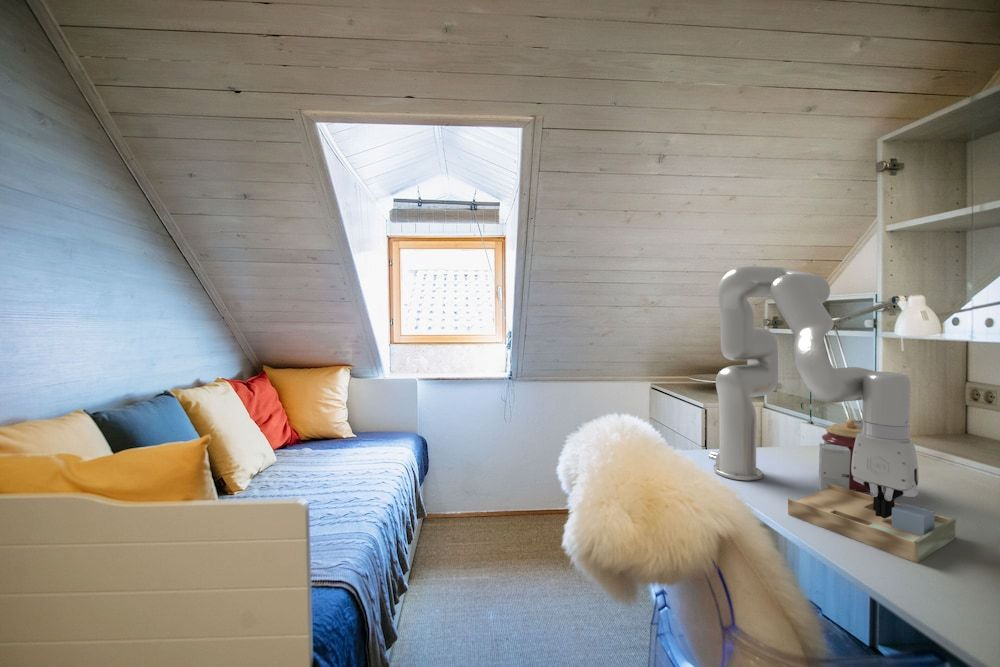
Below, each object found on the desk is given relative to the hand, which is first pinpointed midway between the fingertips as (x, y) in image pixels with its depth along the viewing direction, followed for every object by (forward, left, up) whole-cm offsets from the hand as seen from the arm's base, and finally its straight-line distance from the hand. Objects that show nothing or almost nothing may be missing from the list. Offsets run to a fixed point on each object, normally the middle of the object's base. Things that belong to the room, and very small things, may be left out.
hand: (883, 515), depth 93 cm
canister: (-17, +25, -4) cm, 30 cm away
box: (-3, 0, -4) cm, 5 cm away
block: (+5, 0, -1) cm, 5 cm away
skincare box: (-16, +14, -4) cm, 21 cm away
